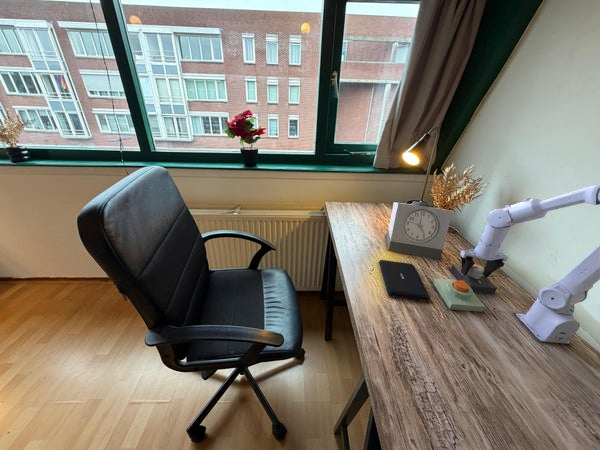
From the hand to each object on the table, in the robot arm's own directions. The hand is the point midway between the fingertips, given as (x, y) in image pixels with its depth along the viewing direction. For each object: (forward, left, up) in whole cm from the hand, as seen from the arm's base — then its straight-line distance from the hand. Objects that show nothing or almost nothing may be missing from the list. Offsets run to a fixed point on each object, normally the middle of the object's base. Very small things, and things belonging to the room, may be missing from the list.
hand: (474, 274), depth 87 cm
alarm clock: (+22, +14, -3) cm, 26 cm away
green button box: (-9, +10, -3) cm, 14 cm away
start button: (-9, +10, +1) cm, 13 cm away
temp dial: (0, 0, 0) cm, 0 cm away
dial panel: (0, 0, -3) cm, 3 cm away
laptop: (-3, +26, -3) cm, 26 cm away
